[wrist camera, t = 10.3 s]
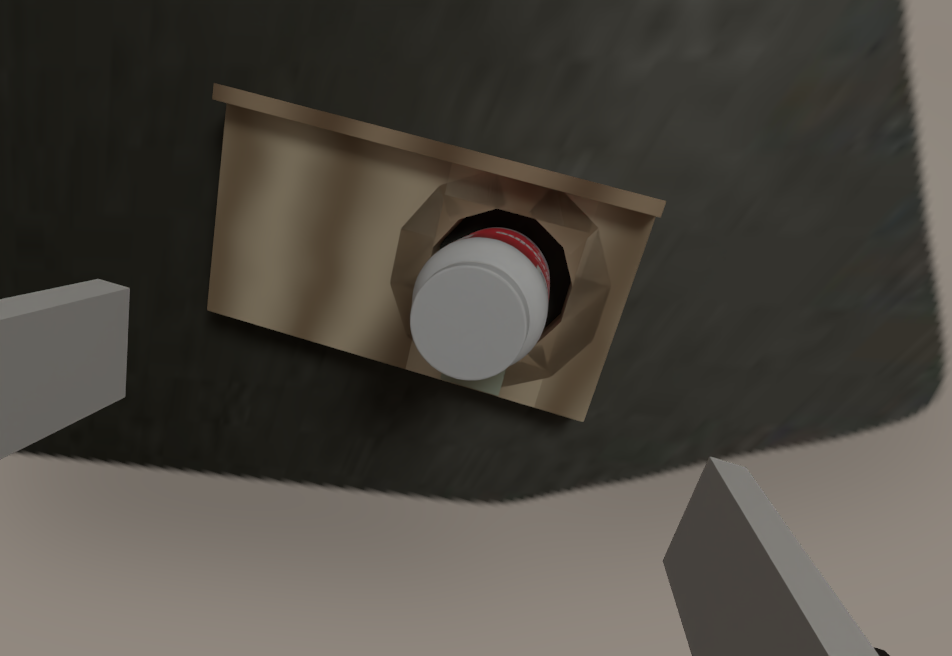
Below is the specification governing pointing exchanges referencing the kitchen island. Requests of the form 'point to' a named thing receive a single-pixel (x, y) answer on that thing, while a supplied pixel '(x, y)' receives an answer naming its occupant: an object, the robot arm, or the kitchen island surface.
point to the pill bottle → (480, 303)
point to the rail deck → (405, 241)
